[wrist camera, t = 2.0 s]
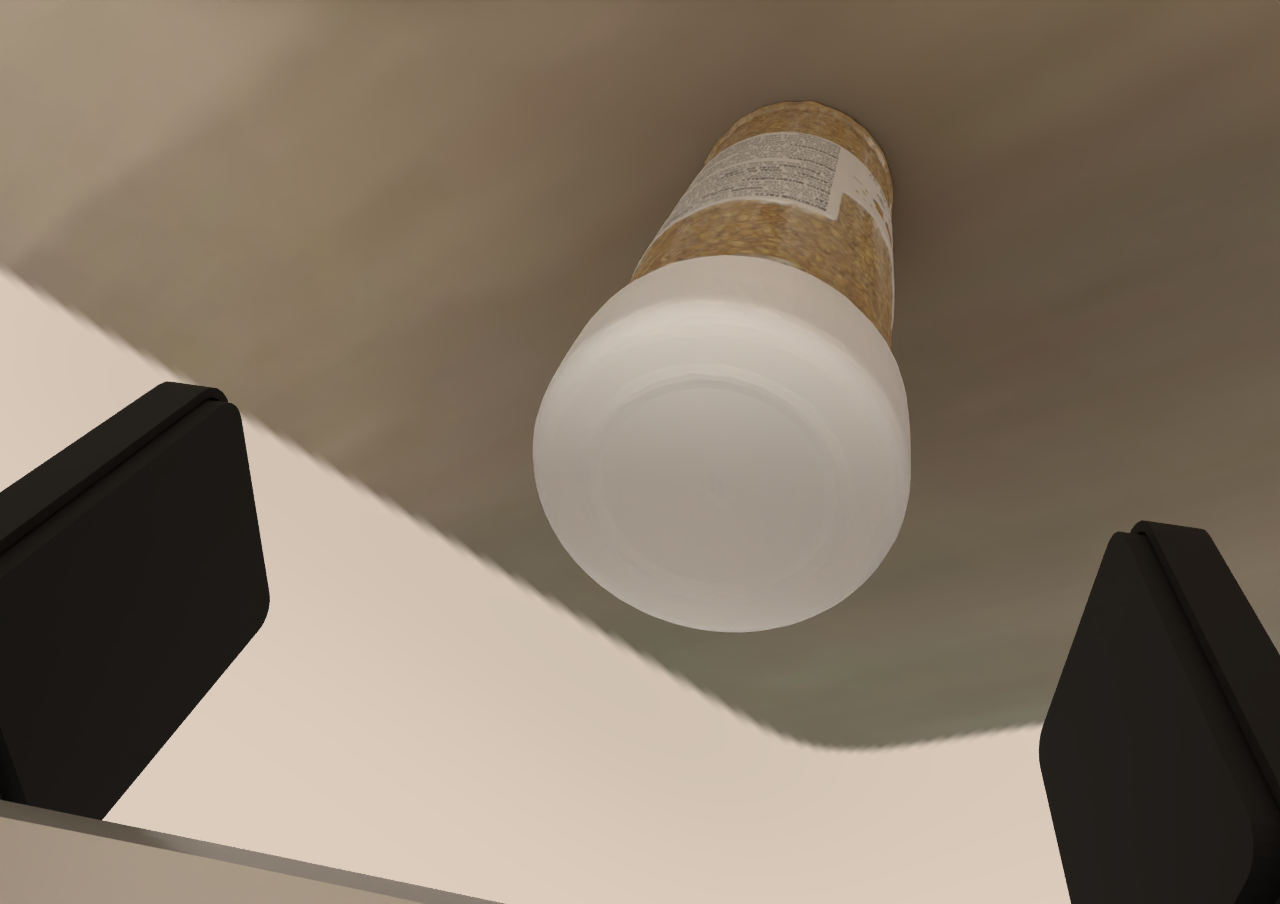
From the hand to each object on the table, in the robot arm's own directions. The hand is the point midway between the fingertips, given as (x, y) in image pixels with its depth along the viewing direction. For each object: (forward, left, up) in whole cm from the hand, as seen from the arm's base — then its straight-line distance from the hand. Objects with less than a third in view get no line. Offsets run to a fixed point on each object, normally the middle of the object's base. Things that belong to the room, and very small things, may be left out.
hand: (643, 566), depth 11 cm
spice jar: (-1, 0, -15) cm, 15 cm away
